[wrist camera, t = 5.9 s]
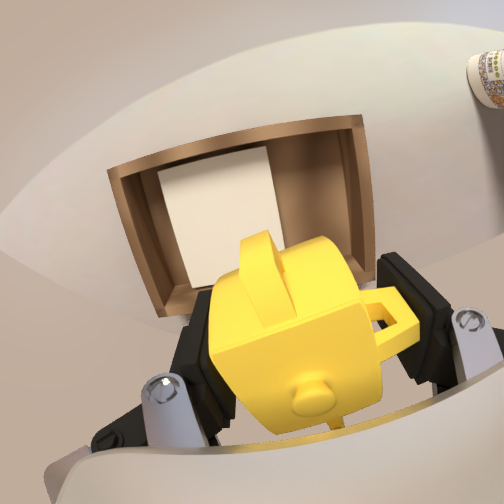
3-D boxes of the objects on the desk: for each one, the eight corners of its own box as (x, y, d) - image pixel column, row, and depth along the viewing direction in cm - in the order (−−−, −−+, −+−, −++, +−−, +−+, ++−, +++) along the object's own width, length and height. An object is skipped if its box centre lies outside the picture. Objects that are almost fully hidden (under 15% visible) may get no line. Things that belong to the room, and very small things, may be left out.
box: (341, 118, 22) (361, 114, 17) (357, 257, 27) (375, 280, 23) (131, 163, 24) (106, 169, 19) (171, 290, 29) (158, 317, 24)
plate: (264, 145, 22) (265, 146, 20) (286, 261, 26) (288, 271, 25) (164, 169, 23) (157, 171, 21) (196, 277, 27) (192, 287, 25)
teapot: (386, 337, 12) (429, 419, 7) (275, 379, 13) (284, 471, 8) (346, 175, 9) (434, 217, 4) (194, 239, 10) (148, 331, 5)
